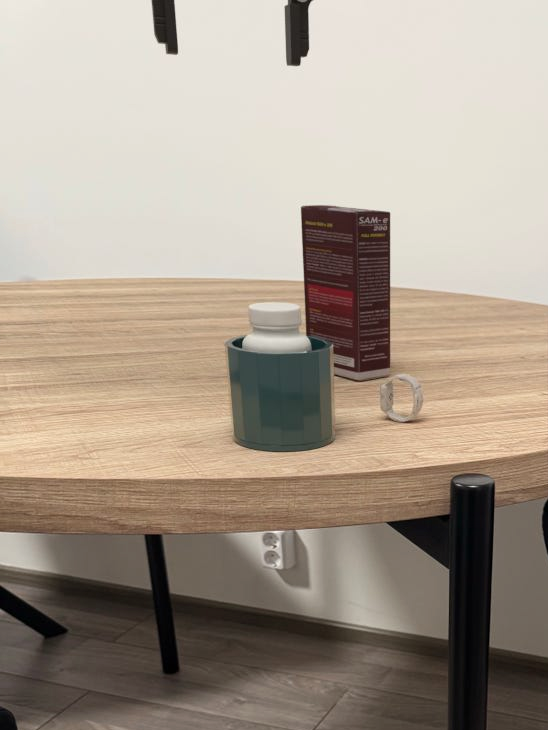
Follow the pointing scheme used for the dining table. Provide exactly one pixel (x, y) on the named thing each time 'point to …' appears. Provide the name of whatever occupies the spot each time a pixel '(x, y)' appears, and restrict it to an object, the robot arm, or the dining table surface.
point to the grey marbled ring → (387, 395)
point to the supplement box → (348, 286)
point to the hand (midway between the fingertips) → (234, 59)
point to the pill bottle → (275, 328)
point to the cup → (281, 396)
